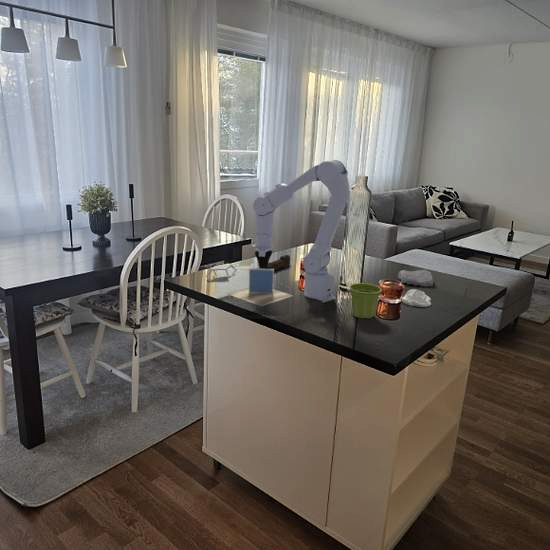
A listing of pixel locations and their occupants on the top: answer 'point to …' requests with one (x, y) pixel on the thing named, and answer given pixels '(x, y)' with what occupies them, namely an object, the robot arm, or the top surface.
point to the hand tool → (280, 263)
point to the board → (259, 296)
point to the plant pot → (364, 299)
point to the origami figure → (221, 267)
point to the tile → (261, 280)
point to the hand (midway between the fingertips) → (263, 272)
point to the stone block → (416, 277)
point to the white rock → (416, 298)
